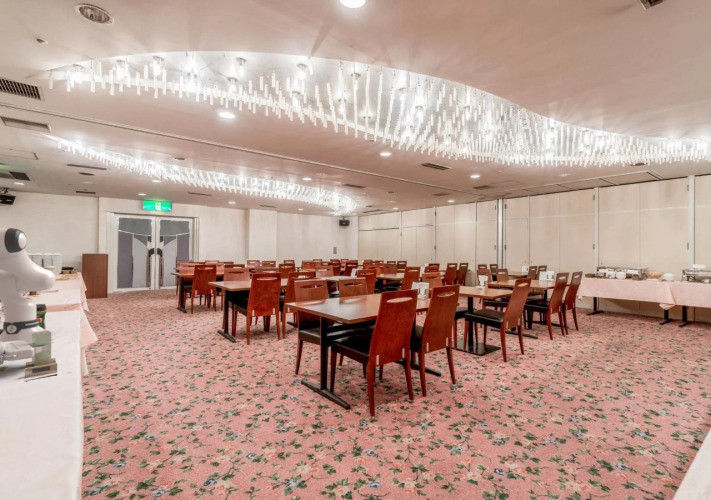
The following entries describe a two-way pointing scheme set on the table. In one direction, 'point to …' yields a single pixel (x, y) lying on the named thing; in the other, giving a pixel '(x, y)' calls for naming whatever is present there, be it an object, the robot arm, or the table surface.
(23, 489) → the table surface
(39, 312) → the coffee jar
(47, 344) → the tea tin
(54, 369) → the shelf board
